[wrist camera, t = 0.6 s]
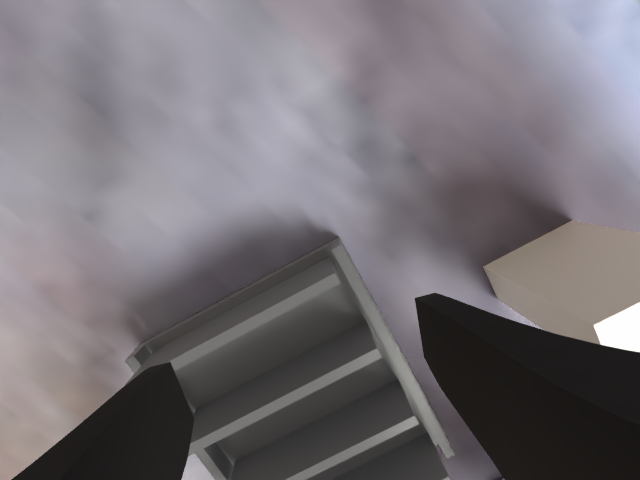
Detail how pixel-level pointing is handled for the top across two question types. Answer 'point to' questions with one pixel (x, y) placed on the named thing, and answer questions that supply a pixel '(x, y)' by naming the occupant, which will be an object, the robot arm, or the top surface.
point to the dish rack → (300, 381)
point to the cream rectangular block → (576, 283)
